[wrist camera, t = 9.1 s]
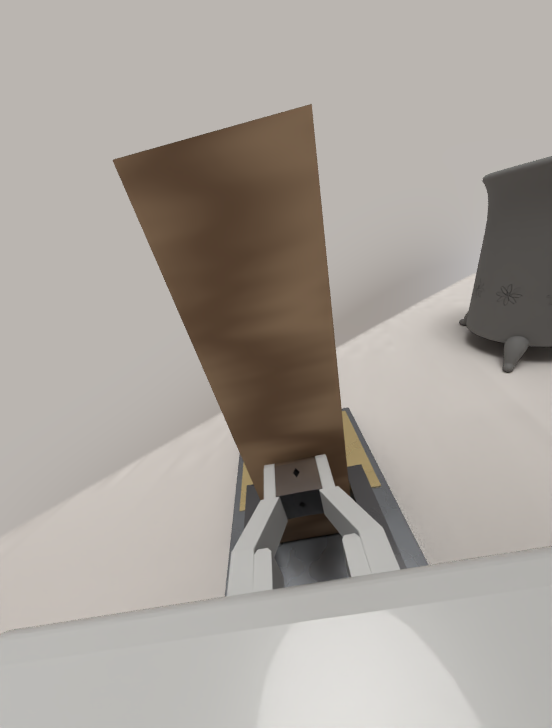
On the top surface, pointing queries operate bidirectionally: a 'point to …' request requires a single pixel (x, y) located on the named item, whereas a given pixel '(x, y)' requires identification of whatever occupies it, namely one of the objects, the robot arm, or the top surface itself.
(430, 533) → the top surface
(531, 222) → the footed curly-handled cup
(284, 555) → the steel chute
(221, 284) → the walnut block
